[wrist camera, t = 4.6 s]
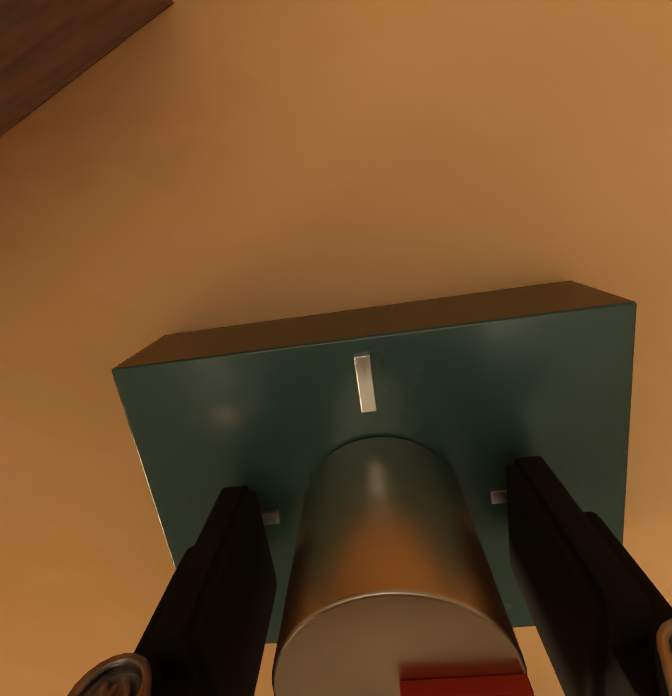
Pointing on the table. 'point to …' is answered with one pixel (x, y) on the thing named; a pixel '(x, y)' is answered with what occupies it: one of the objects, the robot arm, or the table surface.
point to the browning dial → (392, 585)
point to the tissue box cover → (58, 45)
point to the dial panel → (389, 408)
